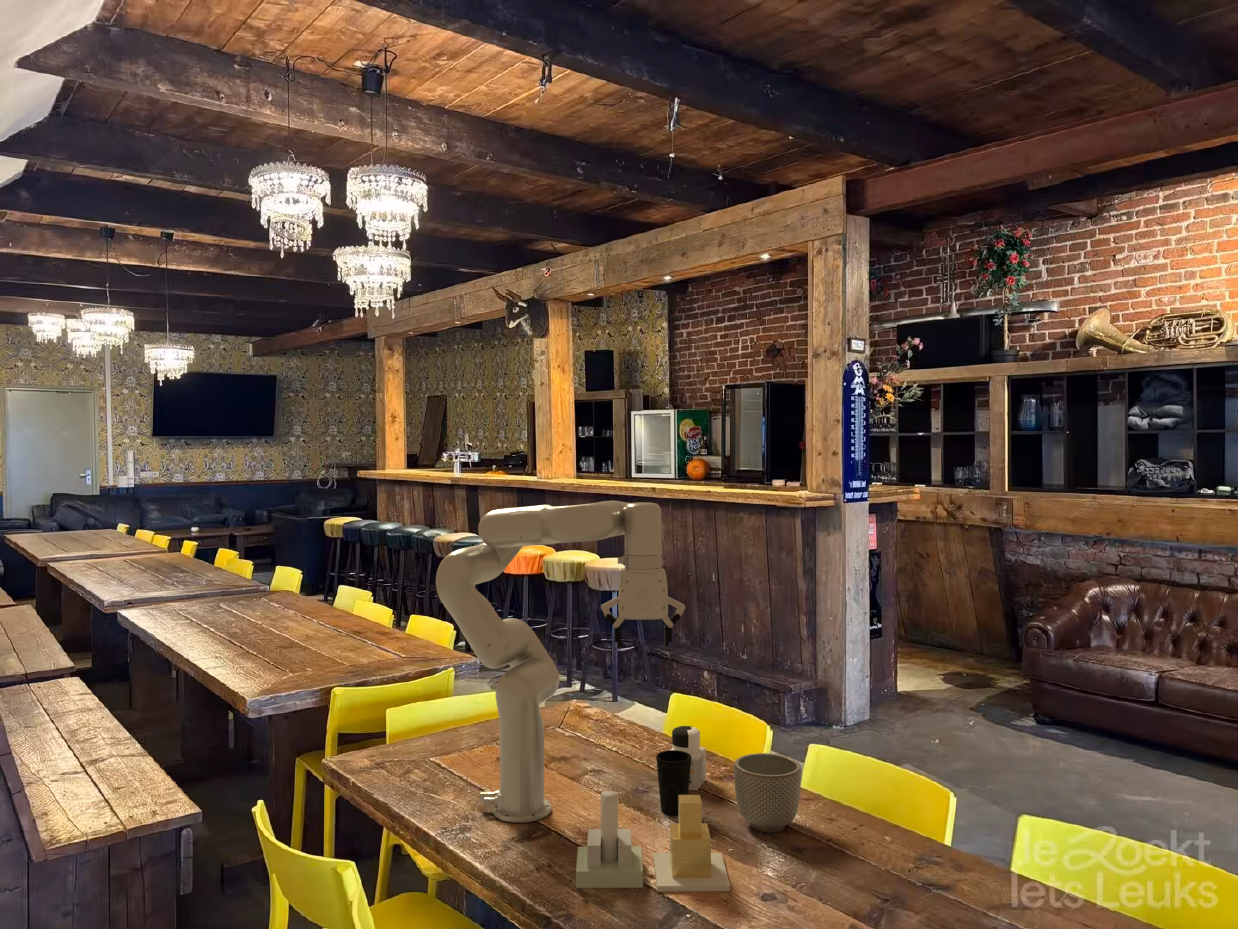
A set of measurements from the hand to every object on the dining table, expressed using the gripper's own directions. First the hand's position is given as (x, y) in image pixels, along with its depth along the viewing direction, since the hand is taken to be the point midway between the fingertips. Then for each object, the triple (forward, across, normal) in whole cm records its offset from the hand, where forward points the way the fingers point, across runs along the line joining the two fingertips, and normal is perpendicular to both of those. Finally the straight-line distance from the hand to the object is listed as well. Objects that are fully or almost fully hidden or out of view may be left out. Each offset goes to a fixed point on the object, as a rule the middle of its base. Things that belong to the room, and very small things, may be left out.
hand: (643, 645), depth 184 cm
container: (+38, +11, +26) cm, 48 cm away
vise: (+38, -7, -19) cm, 43 cm away
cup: (+38, +7, +10) cm, 40 cm away
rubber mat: (+38, +8, -19) cm, 43 cm away
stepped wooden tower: (+37, +8, -19) cm, 43 cm away
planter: (+38, +26, +2) cm, 46 cm away
